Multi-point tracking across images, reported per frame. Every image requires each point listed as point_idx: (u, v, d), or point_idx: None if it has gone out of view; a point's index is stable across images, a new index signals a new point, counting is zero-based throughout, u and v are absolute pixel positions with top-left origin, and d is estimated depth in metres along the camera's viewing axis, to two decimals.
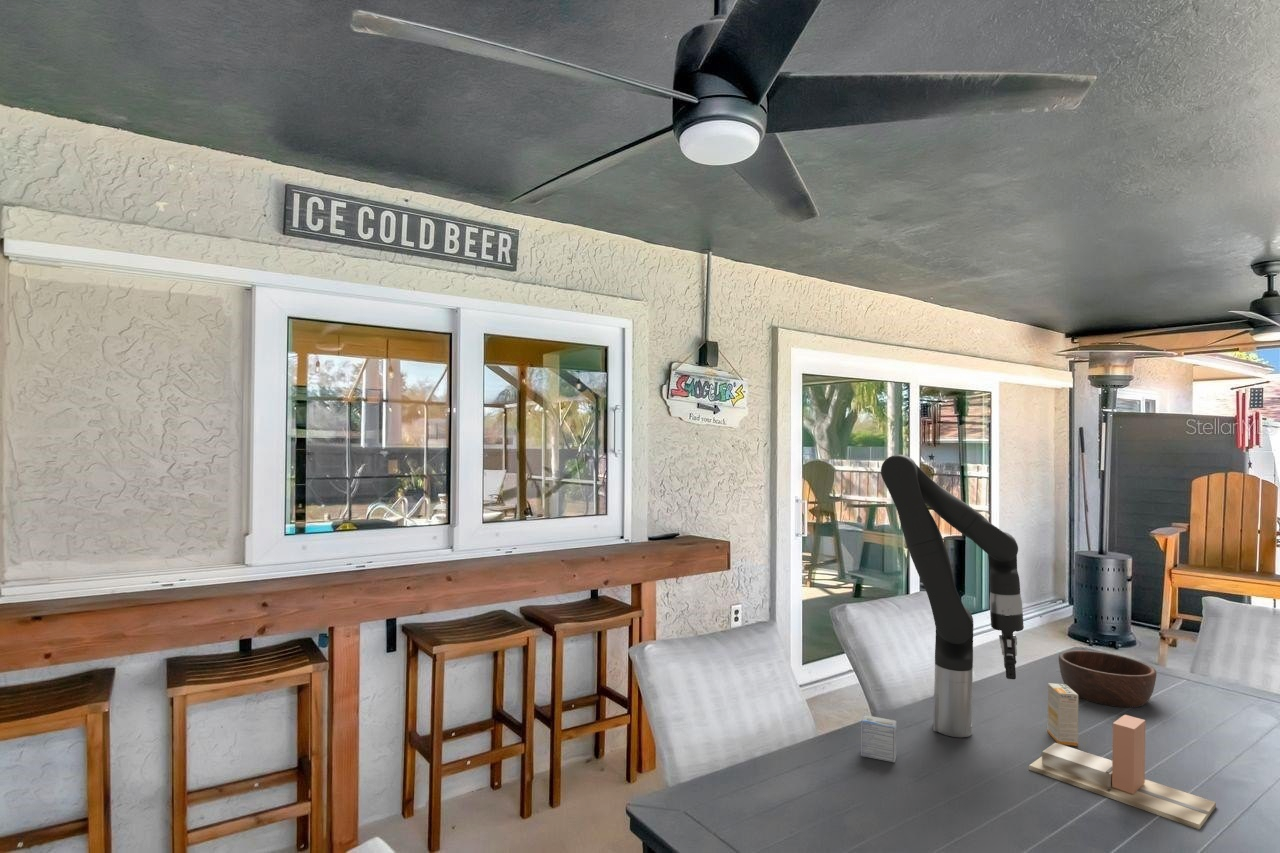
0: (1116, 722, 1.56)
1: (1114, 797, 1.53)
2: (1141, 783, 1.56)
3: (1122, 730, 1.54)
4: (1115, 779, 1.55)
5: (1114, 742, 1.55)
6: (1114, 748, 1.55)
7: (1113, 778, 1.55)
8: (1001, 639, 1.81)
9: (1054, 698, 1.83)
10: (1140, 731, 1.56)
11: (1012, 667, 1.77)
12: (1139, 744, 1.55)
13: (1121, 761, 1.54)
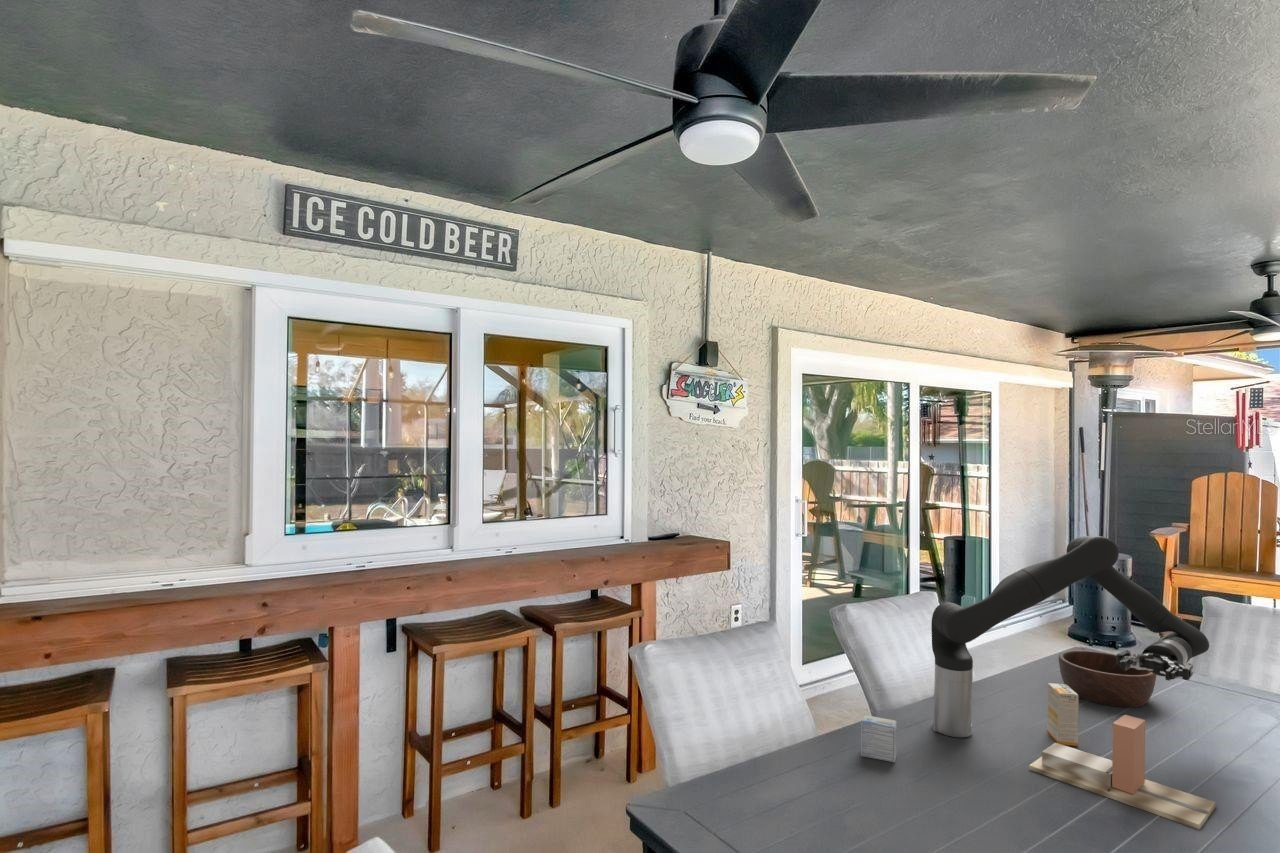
0: (1116, 722, 1.56)
1: (1114, 797, 1.53)
2: (1141, 783, 1.56)
3: (1122, 730, 1.54)
4: (1115, 779, 1.55)
5: (1114, 742, 1.55)
6: (1114, 748, 1.55)
7: (1113, 778, 1.55)
8: None
9: (1054, 698, 1.83)
10: (1140, 731, 1.56)
11: (1176, 676, 1.62)
12: (1139, 744, 1.55)
13: (1121, 761, 1.54)
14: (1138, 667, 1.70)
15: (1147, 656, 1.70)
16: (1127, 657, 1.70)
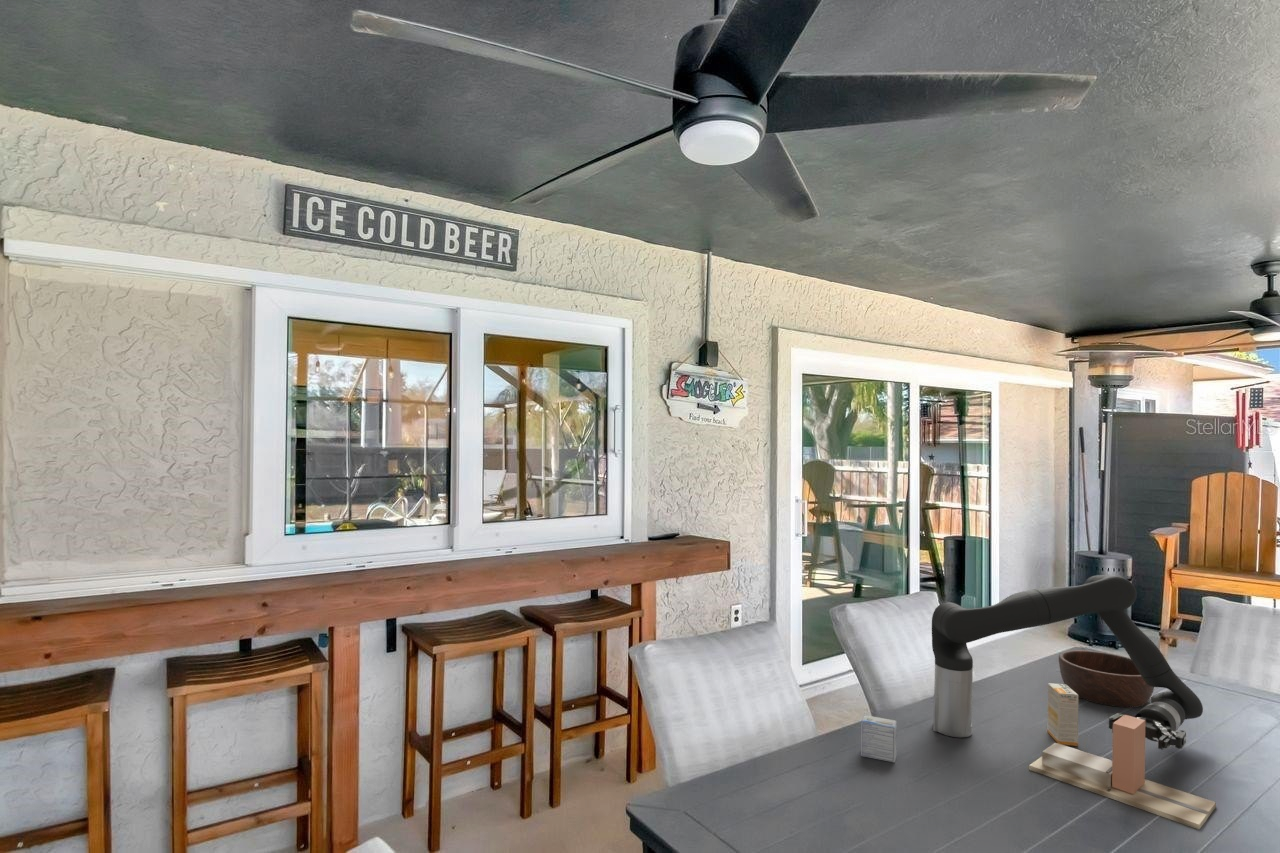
0: (1116, 722, 1.56)
1: (1114, 797, 1.53)
2: (1141, 783, 1.56)
3: (1122, 730, 1.54)
4: (1115, 779, 1.55)
5: (1114, 742, 1.55)
6: (1114, 748, 1.55)
7: (1113, 778, 1.55)
8: None
9: (1054, 698, 1.83)
10: (1140, 731, 1.56)
11: (1169, 744, 1.59)
12: (1139, 744, 1.55)
13: (1121, 761, 1.54)
14: None
15: None
16: None
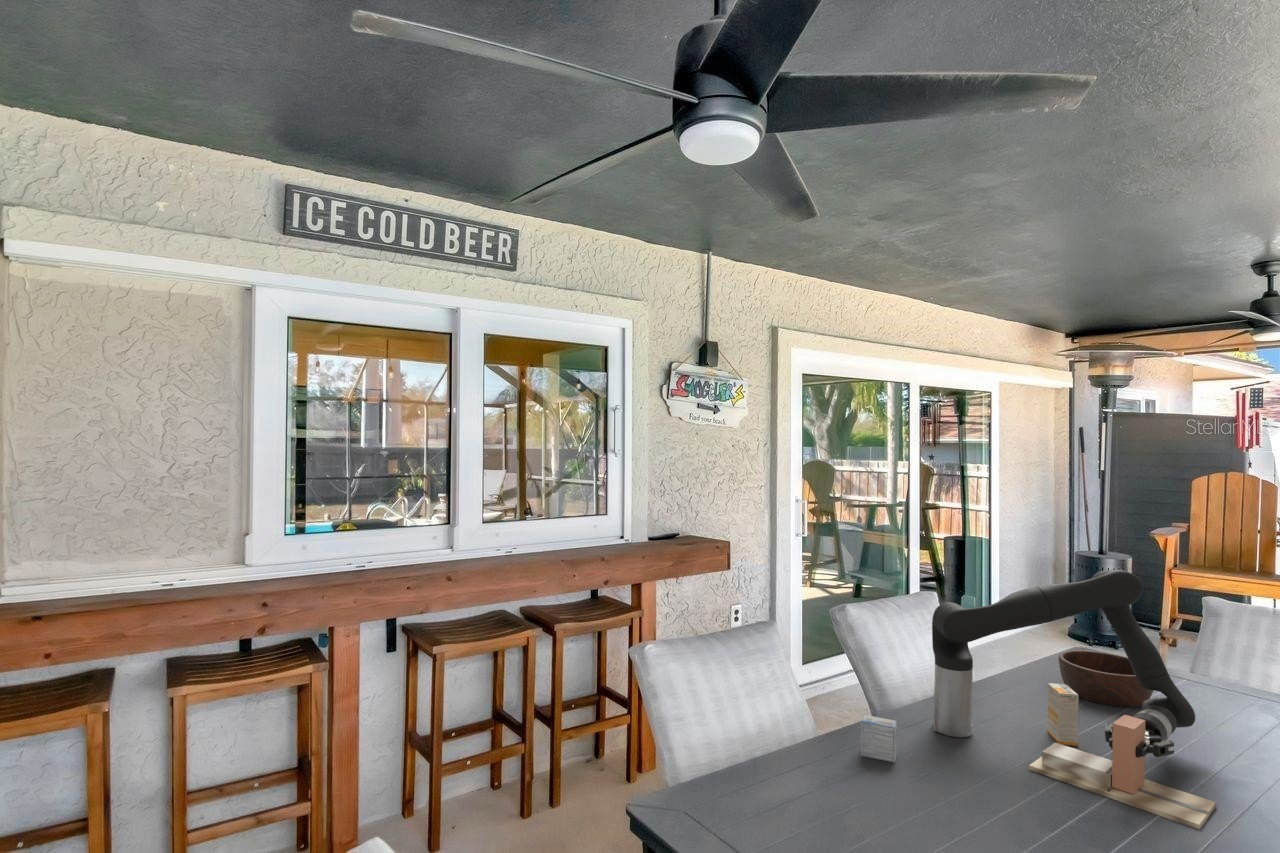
0: (1116, 722, 1.56)
1: (1114, 797, 1.53)
2: (1141, 783, 1.56)
3: (1122, 730, 1.54)
4: (1115, 779, 1.55)
5: (1114, 742, 1.55)
6: (1114, 748, 1.55)
7: (1113, 778, 1.55)
8: (1148, 733, 1.60)
9: (1054, 698, 1.83)
10: (1140, 731, 1.56)
11: (1146, 752, 1.54)
12: None
13: (1121, 761, 1.54)
14: None
15: None
16: None
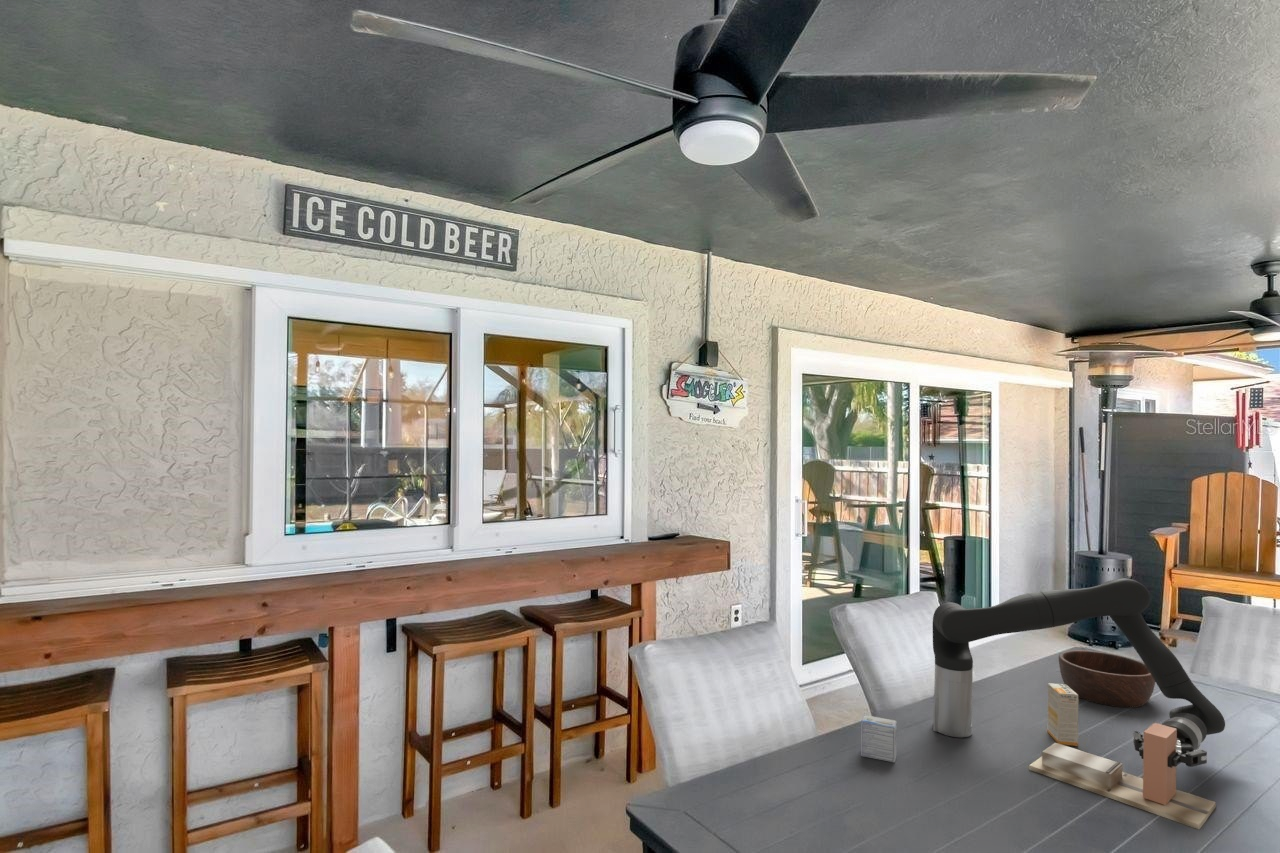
0: (1147, 731, 1.52)
1: (1114, 797, 1.53)
2: (1172, 793, 1.52)
3: (1153, 739, 1.50)
4: (1146, 789, 1.51)
5: (1145, 751, 1.51)
6: (1145, 757, 1.51)
7: (1144, 788, 1.51)
8: (1180, 742, 1.55)
9: (1054, 698, 1.83)
10: (1172, 740, 1.51)
11: (1179, 762, 1.50)
12: None
13: (1153, 771, 1.50)
14: None
15: None
16: None
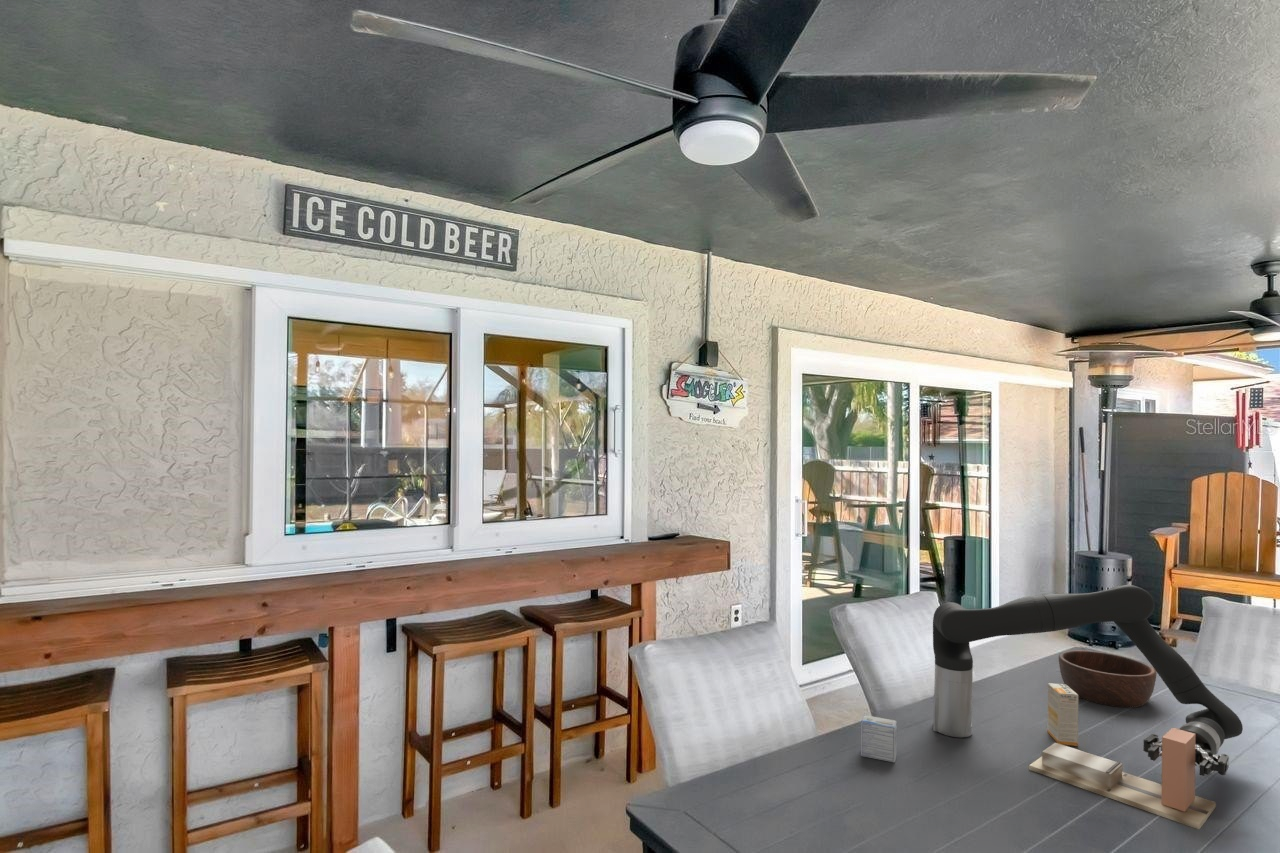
0: (1165, 736, 1.49)
1: (1114, 797, 1.53)
2: (1191, 800, 1.49)
3: (1172, 744, 1.48)
4: (1165, 796, 1.48)
5: (1163, 757, 1.49)
6: (1163, 763, 1.49)
7: (1162, 794, 1.49)
8: None
9: (1054, 698, 1.83)
10: (1191, 745, 1.49)
11: (1211, 770, 1.47)
12: (1190, 759, 1.48)
13: (1171, 777, 1.47)
14: None
15: None
16: (1155, 744, 1.55)
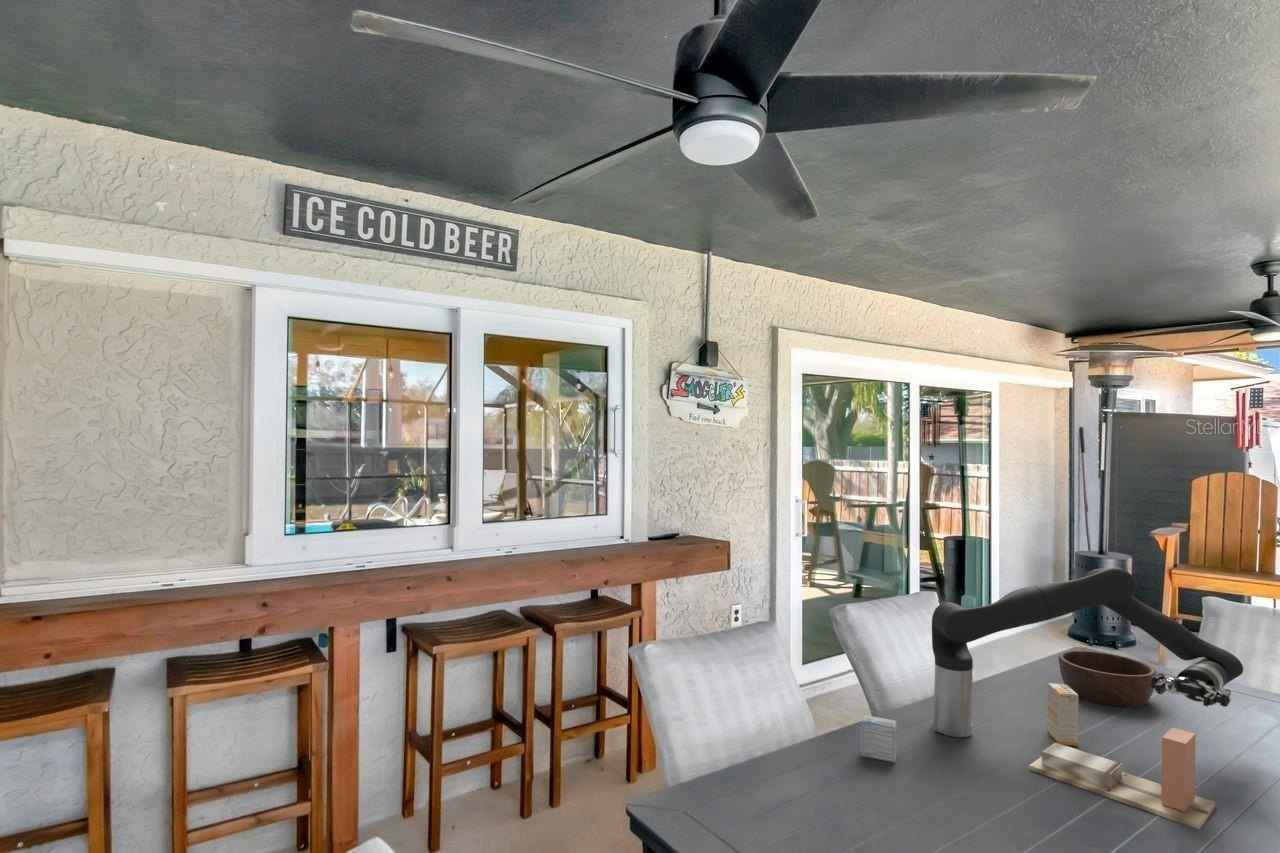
0: (1165, 736, 1.49)
1: (1114, 797, 1.53)
2: (1191, 800, 1.49)
3: (1172, 744, 1.48)
4: (1165, 796, 1.48)
5: (1163, 757, 1.49)
6: (1163, 763, 1.49)
7: (1162, 794, 1.49)
8: None
9: (1054, 698, 1.83)
10: (1191, 745, 1.49)
11: (1214, 701, 1.58)
12: (1190, 759, 1.48)
13: (1171, 777, 1.47)
14: (1173, 691, 1.66)
15: (1183, 680, 1.66)
16: (1162, 680, 1.66)
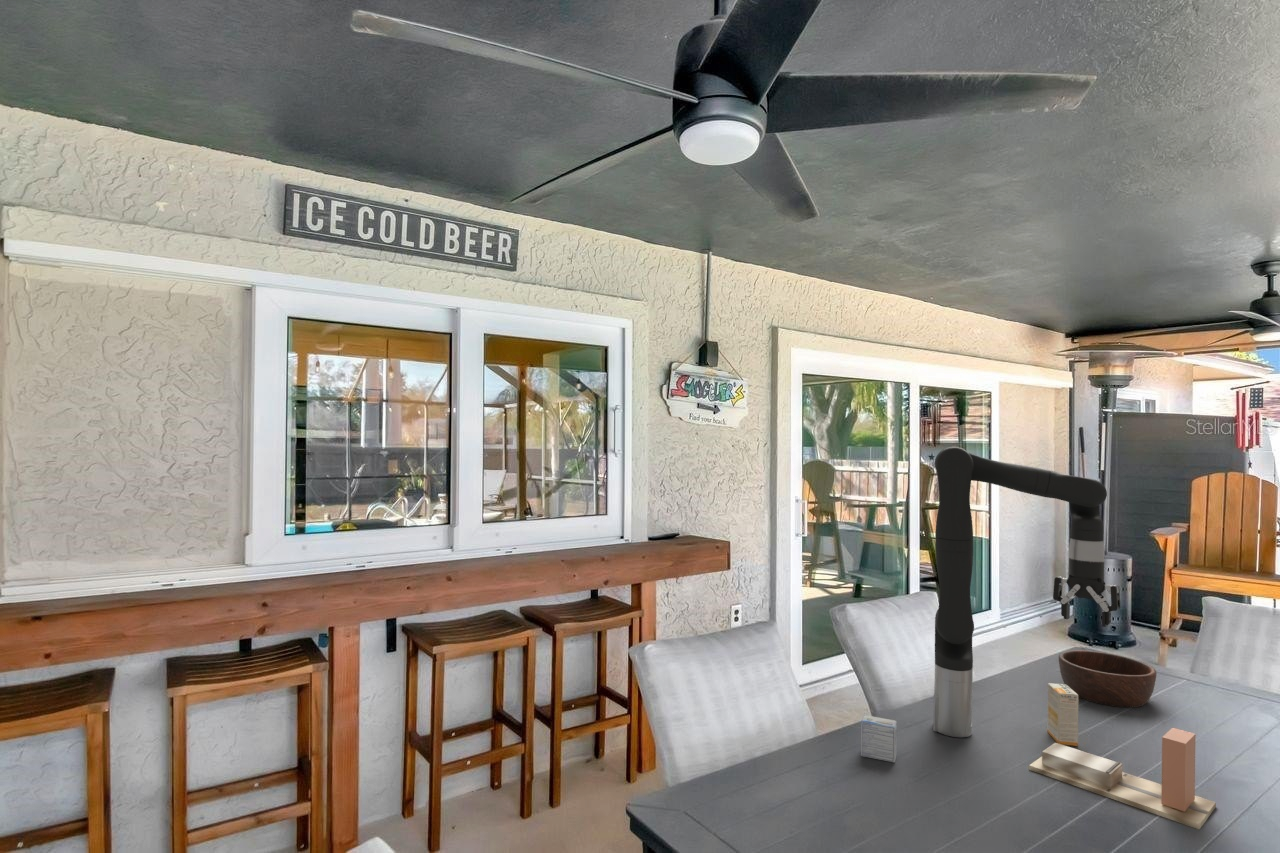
0: (1165, 736, 1.49)
1: (1114, 797, 1.53)
2: (1191, 800, 1.49)
3: (1172, 744, 1.48)
4: (1165, 796, 1.48)
5: (1163, 757, 1.49)
6: (1163, 763, 1.49)
7: (1162, 794, 1.49)
8: (1092, 588, 1.74)
9: (1054, 698, 1.83)
10: (1191, 745, 1.49)
11: (1110, 614, 1.73)
12: (1190, 759, 1.48)
13: (1171, 777, 1.47)
14: (1074, 596, 1.80)
15: (1077, 591, 1.77)
16: (1063, 603, 1.80)
